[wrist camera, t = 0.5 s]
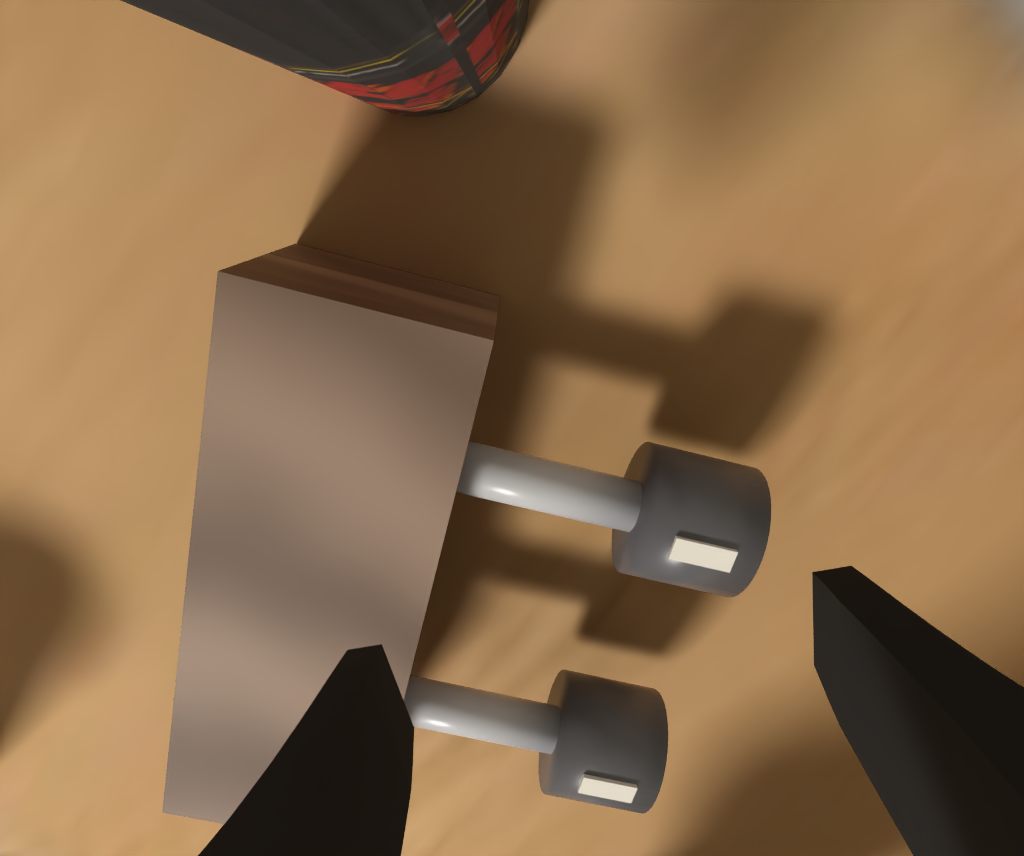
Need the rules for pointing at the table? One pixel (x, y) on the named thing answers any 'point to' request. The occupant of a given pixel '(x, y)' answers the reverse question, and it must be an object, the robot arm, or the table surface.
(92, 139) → the table surface
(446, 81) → the deodorant
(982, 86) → the table surface
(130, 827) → the table surface
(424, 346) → the mount
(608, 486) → the knob
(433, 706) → the knob
